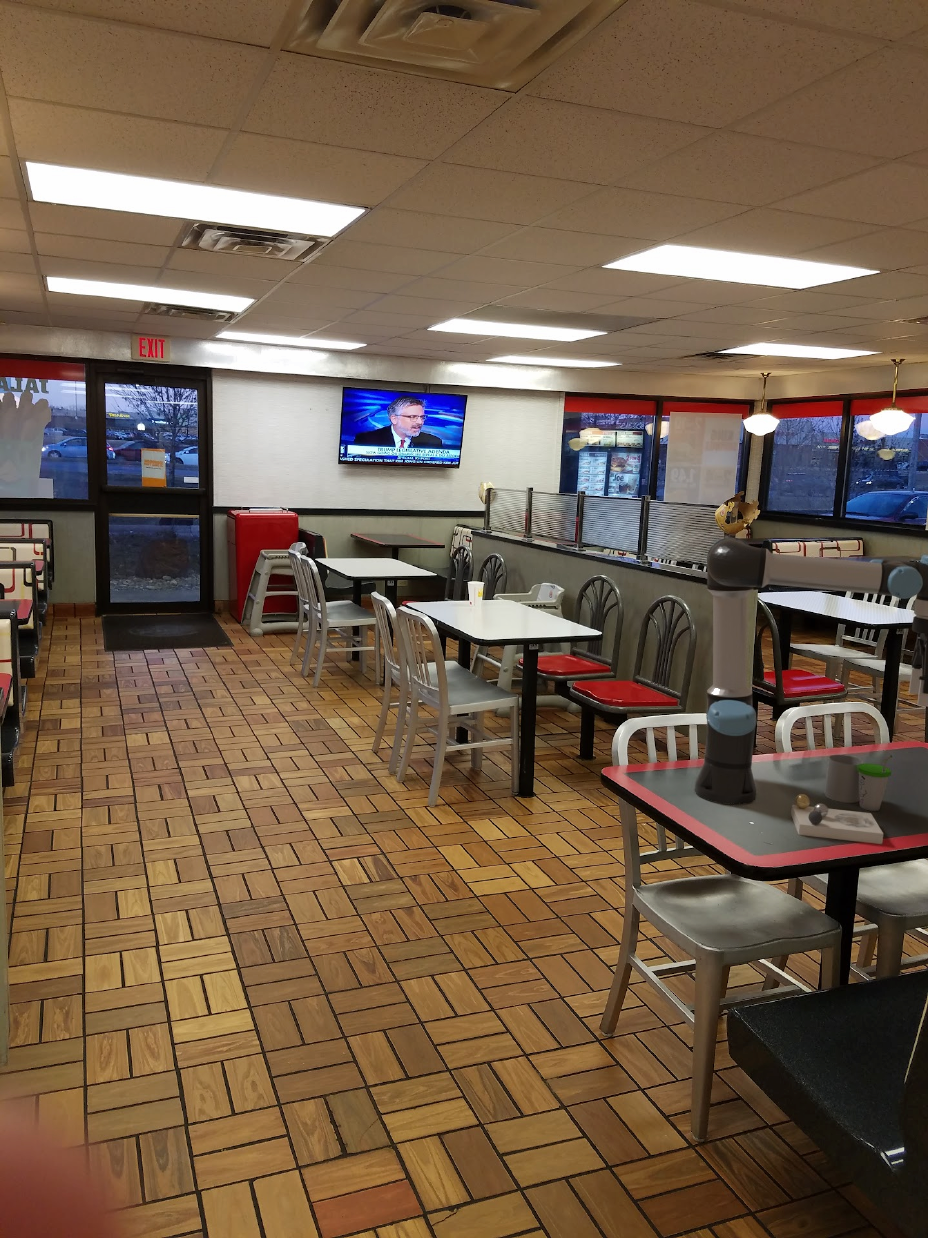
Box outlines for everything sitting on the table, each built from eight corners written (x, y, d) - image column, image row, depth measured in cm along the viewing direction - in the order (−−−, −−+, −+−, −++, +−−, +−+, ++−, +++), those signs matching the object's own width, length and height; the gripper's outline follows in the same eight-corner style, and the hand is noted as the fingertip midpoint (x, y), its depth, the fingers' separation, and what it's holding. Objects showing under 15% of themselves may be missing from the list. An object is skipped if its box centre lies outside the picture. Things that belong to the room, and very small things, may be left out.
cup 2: (847, 801, 237) (854, 744, 235) (878, 802, 237) (885, 746, 235) (859, 813, 230) (866, 754, 227) (891, 814, 229) (899, 756, 227)
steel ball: (814, 818, 217) (815, 805, 217) (812, 813, 220) (813, 800, 220) (828, 820, 217) (830, 807, 216) (826, 815, 220) (827, 802, 219)
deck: (798, 834, 214) (799, 824, 213) (791, 814, 226) (792, 804, 226) (882, 844, 210) (883, 833, 210) (869, 823, 223) (870, 813, 222)
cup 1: (860, 795, 243) (864, 758, 241) (858, 805, 235) (863, 767, 234) (825, 789, 246) (829, 752, 244) (823, 798, 239) (827, 761, 237)
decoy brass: (795, 809, 223) (796, 796, 222) (793, 804, 226) (794, 791, 225) (810, 811, 222) (811, 797, 221) (808, 806, 225) (809, 793, 225)
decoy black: (808, 825, 213) (810, 813, 213) (806, 820, 216) (808, 808, 215) (822, 827, 212) (824, 814, 212) (820, 822, 215) (821, 809, 215)
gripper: (957, 626, 219) (944, 713, 223) (937, 611, 243) (926, 690, 246) (922, 623, 222) (910, 709, 225) (906, 608, 245) (895, 687, 249)
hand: (918, 699), depth 236 cm, fingers open, 13 cm apart
